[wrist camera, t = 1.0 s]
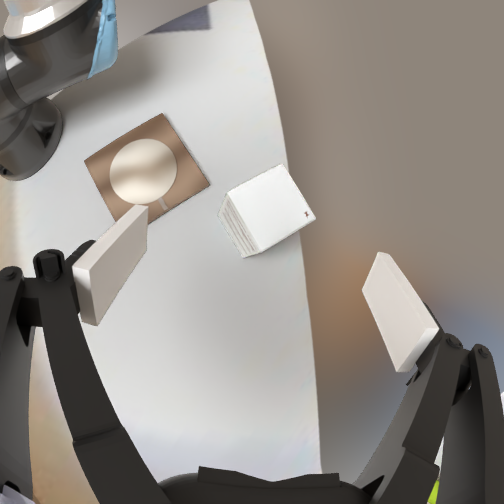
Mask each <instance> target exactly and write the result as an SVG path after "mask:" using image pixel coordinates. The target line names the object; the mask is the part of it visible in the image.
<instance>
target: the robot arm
mask: <svg viewBox="0 0 504 504" xmlns="http://www.w3.org/2000/svg"><path fill="white" fill-rule="evenodd" d="M4 2H5V5H6V7H7V9H8V11H9V13H10V14H9V17H8V19H7V21H6V23H5V26H4V30H3V31H4V36H2V37H0V175H1V176H2V177H4V178H6V179H8V180H12V181H18V180H23V179H25V178H28V177H30V176H31V175H33V174H34V173H36V172H37V171H38V170H39V169H41V168H42V167H43V166H44V165H45V163H46V162H47V161H48V160H49V158H50V157H51V156H52V154H53V152H54V151H55V149H56V147H57V145H58V142H59V139H60V136H61V132H62V117H61V113H60V111H59V110H58V108H57V107H56V105H55V104H54V103H53V102H52V101H51V100H50V99H48V98H46V97H47V96H49V95H51V94H53V93H55V92H58V91H60V90H62V89H64V88H66V87H69V86H71V85H73V84H75V83H78V82H80V81H82V80H85V79H89V78H91V77H92V76H93V75H95V74H97V73H99V72H102V71H104V70H106V69H108V68H110V67H111V66H112V65H113V64H114V63H115V61H116V60H117V56H118V38H117V23H116V18H115V17H116V12H115V9H116V8H115V0H4ZM147 223H148V206H143V205H137V204H136V205H134V206H133V207H132V208H131V209H130V210H129V211H128V212H127V213H126V214H124V215H123V216H122V217H121V218H120V219H119V220H118V221H117V222H116V223H115V224H114V225H113V226H112V227H111V228H109V229H108V230H107V231H106V232H105V233H104V234H103V235H102V236H101V237H100V238H99V239H98V240H97V241H94V240H89V241H87V242H85V243H83V244H82V245H81V246H79V247H78V248H77V249H76V250H75V251H74V252H73V253H72V255H70V256H69V257H68V258H67V259H66V260H65V259H64V254H63V253H62V252H61V251H59V250H56V249H48V250H44V251H41V252H39V253H38V254H36V255H35V257H34V258H33V264H34V269H35V274H36V278H26V277H24V276H23V272H22V270H21V268H19V267H16V266H11V267H6V268H4V269H2V270H1V271H0V504H35V503H34V502H33V501H32V493H33V485H32V472H31V462H30V449H29V425H28V407H29V382H30V368H31V358H32V349H33V341H34V334H35V328H36V326H37V327H43V332H44V337H45V343H46V348H47V352H48V357H49V362H50V366H51V370H52V374H53V378H54V382H55V385H56V389H57V392H58V396H59V399H60V403H61V406H62V409H63V412H64V415H65V418H66V421H67V424H68V426H69V429H70V432H71V435H72V438H73V447H74V450H75V453H76V455H77V458H78V460H79V462H80V465H81V467H82V469H83V471H84V473H85V476H86V478H87V480H88V482H89V484H90V486H91V488H92V490H93V492H94V494H95V496H96V498H97V499H98V501H99V503H100V504H427V502H428V499H429V497H430V495H431V492H432V490H433V487H434V485H435V483H436V480H437V477H438V475H439V471H440V468H439V466H437V465H436V464H434V462H435V459H436V456H437V453H438V450H439V447H440V445H441V441H442V438H443V435H444V444H443V455H442V465H441V473H440V480H439V487H438V493H437V498H436V503H435V504H504V415H503V408H502V402H501V396H500V390H499V385H498V380H497V375H496V370H495V366H494V362H493V358H492V355H491V353H490V351H489V349H488V348H486V347H485V346H483V345H481V344H475V345H474V347H473V348H472V350H471V351H469V350H466V349H463V345H462V343H461V342H460V341H459V340H458V338H456V337H455V336H454V335H451V334H448V333H444V331H443V329H442V328H441V326H440V324H439V323H438V321H437V320H436V319H435V317H434V315H433V313H432V312H431V310H430V309H429V307H428V306H427V305H426V304H425V303H424V302H423V301H422V300H421V299H420V298H419V296H418V295H417V293H416V292H415V290H414V289H413V287H412V286H411V284H410V283H409V281H408V280H407V278H406V277H405V276H404V274H403V273H402V271H401V270H400V269H399V267H398V266H397V264H396V263H395V262H394V260H393V259H392V258H391V256H390V255H389V254H386V253H382V252H378V253H377V256H376V258H375V261H374V263H373V265H372V268H371V270H370V272H369V275H368V277H367V280H366V282H365V284H364V286H363V288H362V292H363V294H364V296H365V299H366V301H367V303H368V305H369V307H370V310H371V312H372V314H373V316H374V319H375V321H376V323H377V326H378V328H379V330H380V333H381V335H382V338H383V340H384V342H385V345H386V347H387V350H388V352H389V355H390V357H391V360H392V362H393V365H394V367H395V369H396V372H409V371H410V370H411V369H412V367H413V366H414V365H415V363H416V365H417V367H418V370H417V371H416V373H415V374H414V375H413V376H412V378H411V379H410V380H409V382H408V383H407V384H406V385H407V386H408V385H409V384H410V385H409V387H408V390H407V392H406V394H405V396H404V398H403V400H402V402H401V404H400V407H399V409H398V411H397V413H396V415H395V417H394V419H393V420H392V422H391V424H390V426H389V428H388V430H387V432H386V434H385V435H384V437H383V439H382V441H381V443H380V444H379V446H378V448H377V449H376V451H375V453H374V454H373V456H372V458H371V459H370V461H369V462H368V464H367V466H366V467H365V469H364V470H363V472H362V473H361V475H360V476H359V478H358V479H357V480H356V481H355V482H354V483H353V484H349V483H346V482H343V481H340V480H339V473H331V474H307V475H303V476H299V477H295V478H290V479H286V480H281V481H276V482H270V481H266V480H263V479H259V478H256V477H252V476H249V475H246V474H243V473H240V472H236V471H230V470H221V469H214V468H207V467H201V466H199V470H198V473H189V474H182V475H178V476H174V477H171V478H168V479H165V480H163V481H161V482H159V483H157V482H156V480H155V479H154V477H153V476H152V474H151V473H150V471H149V469H148V468H147V466H146V465H145V463H144V461H143V460H142V458H141V456H140V455H139V453H138V451H137V449H136V448H135V446H134V444H133V442H132V440H131V439H130V437H129V435H128V433H127V431H126V430H125V428H124V427H123V426H122V424H121V423H120V421H119V419H118V417H117V415H116V413H115V410H114V408H113V406H112V404H111V402H110V400H109V398H108V395H107V393H106V391H105V388H104V386H103V384H102V381H101V379H100V377H99V374H98V372H97V369H96V367H95V364H94V361H93V359H92V356H91V353H90V351H89V348H88V345H87V342H86V339H85V336H84V333H83V330H82V327H81V324H80V321H79V318H78V313H79V312H80V315H81V319H82V322H84V323H88V324H91V325H94V326H98V325H99V323H100V321H101V320H102V318H103V316H104V315H105V313H106V311H107V310H108V308H109V307H110V305H111V303H112V302H113V300H114V299H115V297H116V296H117V294H118V293H119V291H120V289H121V288H122V286H123V285H124V283H125V282H126V280H127V279H128V277H129V276H130V274H131V273H132V271H133V270H134V268H135V267H136V265H137V264H138V262H139V261H140V259H141V258H142V257H143V255H144V254H145V252H146V251H147ZM470 386H471V387H470ZM469 387H470V389H469Z"/></svg>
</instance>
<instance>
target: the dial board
mask: <svg viewBox="0 0 504 504" xmlns="http://www.w3.org/2000/svg"><path fill="white" fill-rule="evenodd" d="M84 162H85V164H86V166H87V168H88V170H89V172H90V174H91V176H92V178H93V180H94V182H95V184H96V186H97V188H98V190H99V192H100V194H101V196H102V198H103V200H104V201H105V203H106V205H107V207H108V209H109V211H110V212H111V214H112V216H113V218H114V220H115V221H116V222H117V221H118V220H119V219H120V218H121V217H122V216H123V215H124V214H126V213H127V212H128V211H129V210H130V209H131V208H132V207H133V206H134V205H136V204H137V205H143V206H148V223H147V225H148V224H149V223H151V222H152V221H154V220H155V219H157V218H158V217H160V216H161V215H163V214H165V213H166V212H168V211H169V210H171V209H172V208H174V207H176V206H177V205H179V204H180V203H182V202H183V201H185V200H187V199H188V198H190V197H192V196H193V195H195V194H196V193H198V192H200V191H201V190H203V189H205V188H206V187H208V186H209V183H208V181H207V180H206V178H205V177H204V175H203V174H202V172H201V171H200V169H199V168H198V166H197V165H196V163H195V162H194V160H193V159H192V157H191V156H190V154H189V153H188V151H187V150H186V148H185V147H184V145H183V144H182V142H181V141H180V139H179V138H178V136H177V134H176V133H175V131H174V130H173V128H172V127H171V125H170V124H169V122H168V121H167V119H166V118H165V116H164V115H163V113H161V114H159V115H158V116H156V117H154V118H152V119H150V120H148V121H147V122H145V123H143V124H141V125H140V126H138V127H136V128H134V129H133V130H131V131H129V132H128V133H126V134H124V135H123V136H121V137H119V138H118V139H116V140H115V141H113V142H111V143H110V144H108V145H107V146H105V147H104V148H102V149H101V150H99V151H98V152H96V153H95V154H93V155H92V156H90V157H89V158H87V159H86V160H84Z"/></svg>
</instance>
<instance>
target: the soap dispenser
mask: <svg viewBox="0 0 504 504" xmlns="http://www.w3.org/2000/svg"><path fill="white" fill-rule="evenodd" d="M438 487H439V481H438V480H436V483H435V485H434V487H433V490H432V492H431V495H430V497H429V499H428V502H429V503H430V504H435V503H436V498H437V493H438Z"/></svg>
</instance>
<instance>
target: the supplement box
mask: <svg viewBox="0 0 504 504" xmlns="http://www.w3.org/2000/svg"><path fill="white" fill-rule="evenodd" d="M218 217H219V219H220V220H221V222H222V224H223V225H224V227H225V229H226V230H227V232H228V234H229V236H230V237H231V239H232V241H233V242H234V244H235V246H236V247H237V249H238V251H239V252H240V254H241V256H242V257H243V258H245V257H248V256H252V255H255V254H259V253H261V252H264V251H265V250H267V249H268V248H270V247H272V246H273V245H275V244H277V243H278V242H280V241H282V240H283V239H285V238H287V237H288V236H290V235H292V234H293V233H295V232H296V231H298V230H299V229H301V228H302V227H304V226H306V225H308V224H309V223H311V222H313V221H314V220H316V217H315V215H314V214H313V212H312V210H311V209H310V207H309V206H308V204H307V202H306V201H305V199H304V197H303V196H302V194H301V192H300V191H299V189H298V187H297V186H296V184H295V182H294V181H293V179H292V178H291V176H290V174H289V173H288V171H287V169H286V168H285V166H284V165H283V164H280V165H277V166H275V167H273V168H271V169H269V170H267V171H265V172H263V173H261V174H259V175H257V176H255V177H253V178H252V179H250V180H248V181H246V182H244V183H242V184H240V185H238V186H236V187H235V188H233V189H231V190H229V191H228V192H227V193H226V195H225V198H224V200H223V203H222V205H221V208H220V210H219V213H218Z"/></svg>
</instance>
